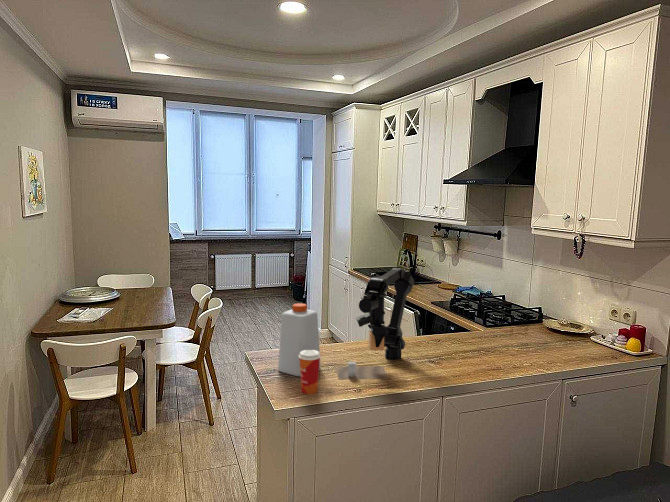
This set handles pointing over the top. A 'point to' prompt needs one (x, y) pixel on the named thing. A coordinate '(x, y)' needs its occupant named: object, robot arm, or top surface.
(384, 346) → the robot arm
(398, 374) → the top surface
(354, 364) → the metal post
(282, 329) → the plastic bottle
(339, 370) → the walnut board
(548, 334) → the top surface
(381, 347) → the square block
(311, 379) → the coffee cup
